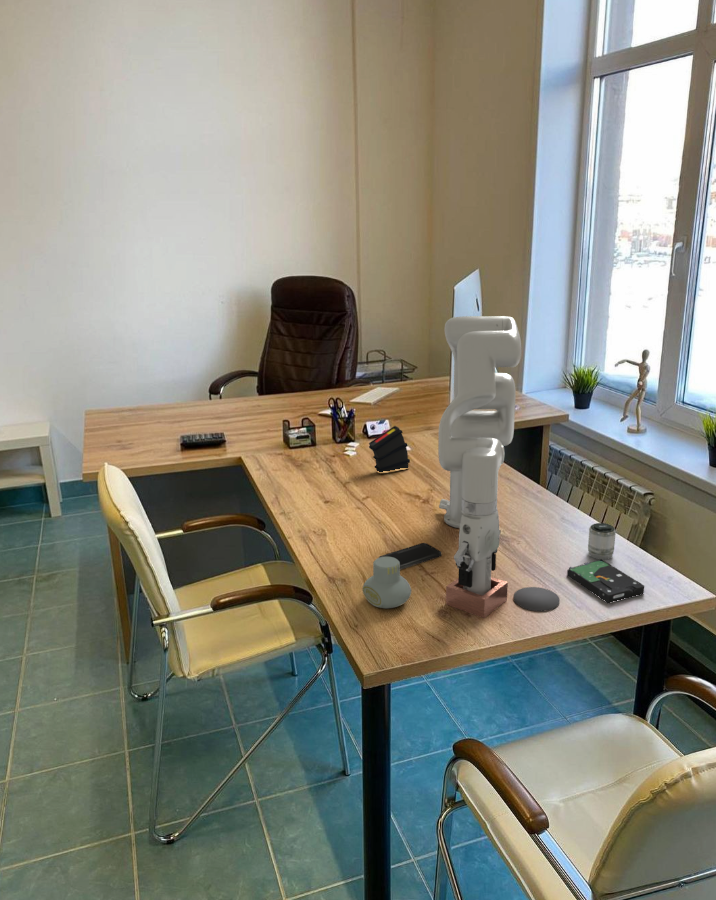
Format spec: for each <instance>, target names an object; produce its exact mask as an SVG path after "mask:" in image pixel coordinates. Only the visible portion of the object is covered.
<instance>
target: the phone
mask: <svg viewBox="0 0 716 900" xmlns="http://www.w3.org/2000/svg"><path fill="white" fill-rule="evenodd" d="M441 556H442V551H440V550H439V549H437V548H436V547H434V546H432V545H430V544H429V543H426V542H421V543H418V544H415V545H411V546H408V547H405V548H401V549H399V550H396V551H392V552H389V553H385V554H383V555H380V556H378V558H380V557H393V558H396V559H397V560H398V561H399V562H400V571H402V570H404V569H407V568H410V567H413V566H416V565H419V564H422V563H425V562H429V561H433V560H434V559H438V558H441Z"/></svg>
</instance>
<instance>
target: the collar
mask: <svg viewBox="0 0 716 900" xmlns="http://www.w3.org/2000/svg"><path fill="white" fill-rule="evenodd" d="M458 578H459V577H457V578H456V579H454V580H453V581H452V582H450V583H449V584H446V587H445V589H446V590H445V605H447V606H450V607H452V608H455V609H458V610H461V611H462V612H466V613H468V614H471V615H474V616H476V617H479V618H482V619H485V618H487V617H488V616H489V615H490V614H492V613H494V611H495V610H497V609H498V608H499V607H501V606H502V605H503V604H505V602H506V601H508V587H509V585H508V584H509V583H508V581H505V580H501V579H498V578H495V577H493V576H491V590H490V591H489V592H487V593H486V594H485V595H483V596H482V595H479V594H476V593H473V592H470V591H467V590H464V589H463V585H460V584H459V583H458Z"/></svg>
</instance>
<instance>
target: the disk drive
mask: <svg viewBox="0 0 716 900" xmlns="http://www.w3.org/2000/svg"><path fill="white" fill-rule="evenodd" d="M566 575H567V577H568V578H570V579H571V580H572V581H574V582H576V583H577V584H578V585H579V586H581V587H583V588H584V589H586V590H587V591H589V592H590V591H591V592H590V593H592V592H593V593H594V594H593V593H592V594H593V595H595V594H596V595H597V596H599V597H600V598H601V599H600V598H599V597H598V598H599V599H600V600H602V599H603V600H605V601H606V602H607V603H606V602H605V601H604V602H605V603H606V604H608V603H609V604H611V603H610V602H612V603H614V602H613V601H616V602H618V601H617V600H620V601H622V600H621V599H624V598H628V599H630V598H629V597H631V598H633V597H632V596H635V597H637V596H636V595H639V596H641V595H640V594H643V593H645V585H644V584H642V583H641V582H639V581H637V580H636V579H634V578H633V577H631V576H629V575H628V574H626V573H624V572H623V571H621V570H620V569H618V567H617V568H616V567H615V566H613V565H612V564H610V563H609V562H606V561H605V560H602V559H601V560H600V559H596V560H592V561H588V562H585V563H584V564H578V565H576V566H575V565H574V566H569V567H568V569H567V571H566ZM596 595H595V596H596ZM643 595H644V594H643ZM597 596H596V597H597ZM603 600H602V601H603ZM624 600H625V599H624Z"/></svg>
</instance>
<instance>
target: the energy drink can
mask: <svg viewBox="0 0 716 900" xmlns="http://www.w3.org/2000/svg"><path fill="white" fill-rule="evenodd" d="M466 555H467V556H470V554H469V553H467V554H466ZM464 562H465V563H466V564H467V565H468V562H469V560H468V559H465V560H464ZM491 563H492V550H489V551H488V552H487V556H486V557H485V558H484V559H482V560H480V561H478V562H476V561H475V560H474V563H473V565H472V568H471V570H473V577H472V587H471V588H469V587H466V586H463V589H464V590H467V591H470V592H473V593H476V594H479V595H482V596H483V595H485V594H486V593H487V592H489V591H490V590H491V577H492V570H491Z"/></svg>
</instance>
